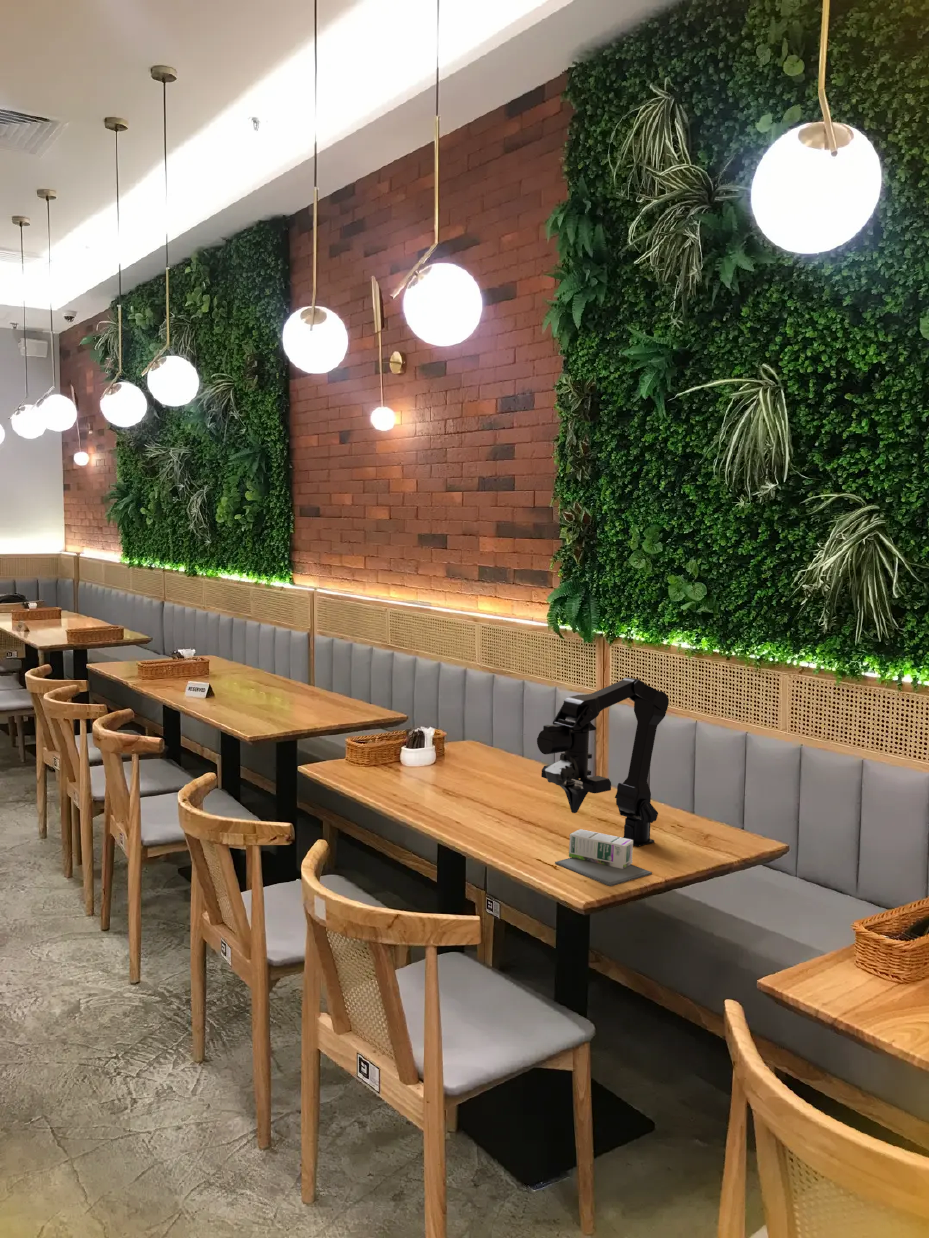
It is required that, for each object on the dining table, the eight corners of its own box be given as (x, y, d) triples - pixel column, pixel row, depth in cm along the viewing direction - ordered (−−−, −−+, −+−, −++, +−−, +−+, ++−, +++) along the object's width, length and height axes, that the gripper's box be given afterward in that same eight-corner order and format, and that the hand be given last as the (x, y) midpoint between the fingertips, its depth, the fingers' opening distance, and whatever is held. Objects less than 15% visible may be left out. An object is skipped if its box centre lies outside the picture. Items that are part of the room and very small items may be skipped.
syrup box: (569, 833, 231) (624, 846, 223) (580, 828, 236) (634, 839, 228) (568, 856, 232) (623, 869, 224) (579, 850, 237) (633, 863, 229)
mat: (596, 852, 237) (596, 850, 237) (651, 873, 223) (652, 871, 223) (554, 863, 228) (554, 861, 228) (610, 886, 214) (610, 884, 214)
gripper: (525, 746, 234) (523, 808, 235) (580, 761, 219) (577, 828, 220) (559, 740, 240) (556, 801, 242) (613, 755, 226) (611, 820, 227)
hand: (574, 812), depth 233 cm, fingers closed
